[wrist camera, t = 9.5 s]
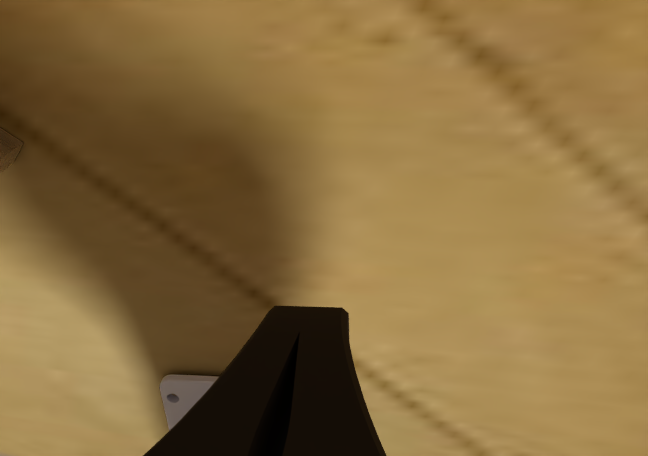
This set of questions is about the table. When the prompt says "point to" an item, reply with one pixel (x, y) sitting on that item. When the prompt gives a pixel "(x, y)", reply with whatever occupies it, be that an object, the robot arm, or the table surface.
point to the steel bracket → (8, 149)
